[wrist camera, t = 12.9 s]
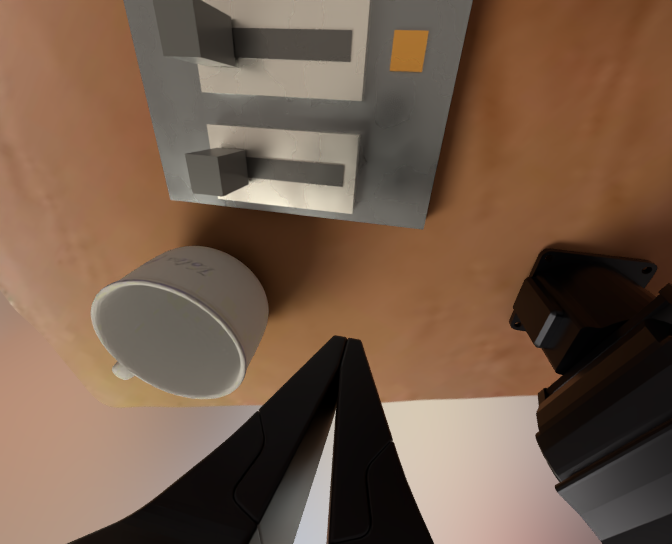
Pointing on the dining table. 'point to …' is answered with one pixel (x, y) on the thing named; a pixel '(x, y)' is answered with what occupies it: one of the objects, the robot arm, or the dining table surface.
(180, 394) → the teacup
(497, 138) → the dining table surface
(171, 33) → the handle
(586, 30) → the dining table surface
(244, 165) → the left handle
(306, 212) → the breaker panel
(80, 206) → the dining table surface
